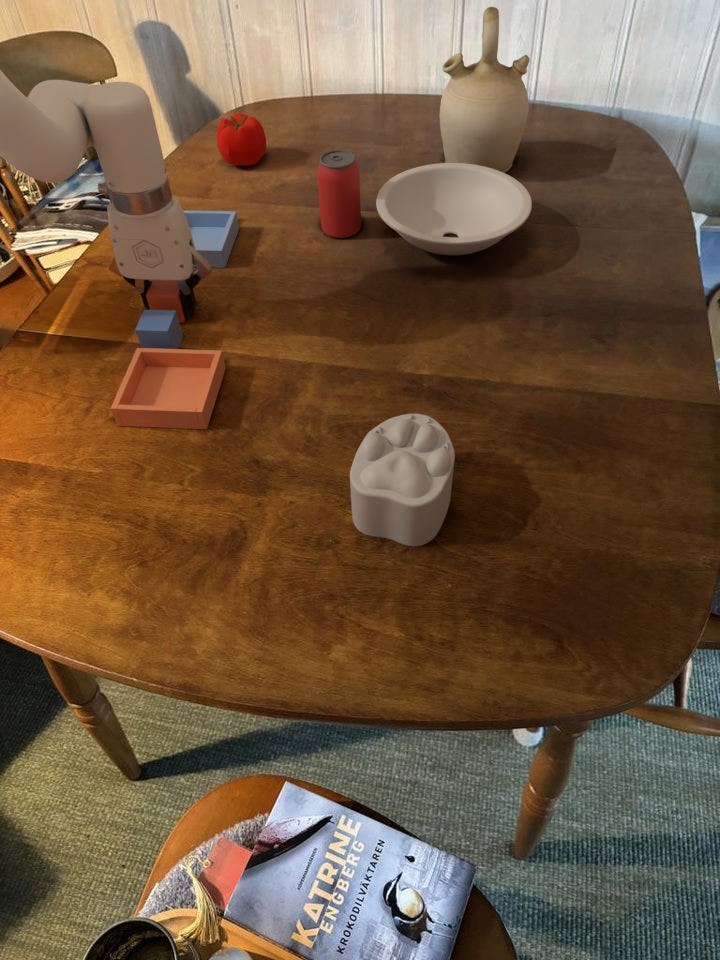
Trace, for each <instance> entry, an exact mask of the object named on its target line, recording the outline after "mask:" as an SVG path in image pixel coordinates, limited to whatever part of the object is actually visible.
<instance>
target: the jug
mask: <svg viewBox="0 0 720 960" xmlns="http://www.w3.org/2000/svg"><path fill="white" fill-rule="evenodd" d="M499 36H500V11H499V9H498V8H497V7H495V6H488V7H487V8H485V9H484V11H483V15H482V34H481V57H480V59H479V60H478V61H477V62H474V63H471V64H469V65H467V66H466V65H465V62H464V55H463V53H461V52H459V53H455V54H453V55H451V56H450V57H449V58H448V59H447V60H446V61H445V62H444V63H443V65H442V68H441V69H442V72H444V73H445V74H447V75H448V76H450V77H451V78H450V79H449V80H448V82H447V84H446V86H445V88H444V90H443V93H442V95H441V99H440V106H439V129H440V136H441V142H442V148H443V156H444V163H465V164H474V165H480V166H484V167H488V168H492V169H495V170H498V171H500V172H503V173H505V174H507V173H508V171H509V170H511V168H512V166H513V162H514V160H515V157H516V155H517V153H518V150H519V147H520V144H521V141H522V138H523V134H524V131H525V128H526V125H527V121H528V118H529V117H528V116H529V109H530V108H529V107H530V104H529V103H530V102H529V94H528V91H527V88H526V85H525V83H524V80H523V78H522V77H523V76H524V75H526V74H527V72H528V66H529V64H530V57H529V56H528V55H527V54H524V55H522V56H521V57H520V58H518V59H514V60H513V61H512V65H511V66H507V65H505V64H503V63H500V62H499V60H498V50H499V39H500V38H499Z"/></svg>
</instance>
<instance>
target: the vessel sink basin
mask: <svg viewBox="0 0 720 960" xmlns="http://www.w3.org/2000/svg"><path fill="white" fill-rule="evenodd" d="M375 207H376V210H377V213H378V215H379V217H380V218H381V220H382V221H383V222H384V223H385V224H386V225H387V226H388V227H390V228H391V229H393V230H394V231H395V232H396V233H397V234H398V235H399V236H400V237H402V239H404V240H405V241H406V242H407V243H409V244H410V245H412V246H415V247H416V248H418V249H420V250H422V251H425V252H428V253H432V254H435V255H442V256H461V255H462V256H463V255H470V254H474V253H478V252H480V251H484V250H486V249H489V248H490V247H492V246H494V245H496V244H498V243H499V242H500V241H501V240H503V239H504V238H505V237H506V236H508V235H510V234H511V233H513V232H515V231H517V230H518V229H520V227H522V226H523V225H524V224H525V222H526V221H527V220H528V218H529V217H530V215H531V213H532V208H533V202H532V197H531V194H530V192H529V191H528V190H527V188H526V186H524V185H523V184H522V183H521V182H520V181H518V179H516V178H514V177H513V176H511V175H509V174H507V173H503V172H500V171H498V170H495V169H492V168H488V167H484V166H480V165H474V164H465V163H446V162H441V163H440V162H439V163H432V164H431V163H430V164H426V165H425V164H424V165H420V166H417V167H413V168H409V169H407V170H404V171H402V172H400V173H398V174H396V175H394V176H393V177H391V178H389V179H388V180H387V181H386V182H385V183H384V184H382V186H381V187H380V189H379V190H378V193H377V196H376V200H375ZM448 234H454V235H456V236H457V237H455V236H454V237H451V236H445V235H448Z"/></svg>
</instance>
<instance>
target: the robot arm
mask: <svg viewBox="0 0 720 960" xmlns="http://www.w3.org/2000/svg"><path fill="white" fill-rule="evenodd" d="M90 147H93V148H94V149H95V151H96V155H97V158H98V161H99V165H100V167H101V171H102V175H103V178H104V181H103V182H98V183H97V190H98V191H97V192H98V193H99V194H100V195H105V196H107V197H108V199H109V203H108V205H107V207H106V209H107V210H106V211H107V222H108V230H109V236H110V241H111V247H112V250H113V255H114V256H113V258H112V261H111V262H110V264H109V266H108V270H109V271H111V272H112V273H113V274H115V275H117V276H118V277H122V279H123V280H124V281H126V282H127V283H128V284H130V285H131V286H133V288H134V290H135V291H136V293H139V294H140V296H141V300H142V304H143V306H144V309H146V310H150V308H149V304H148V301H147V297H146V294H147V292H148V290H149V288H150V285H151V283H152V281H153V280H176V282H177V284H178V285H179V287H180V289H181V293H180V301H181V305H182V309H183V313H184V316H185V317H186V318H185V319H190V318H191V315H192V314H193V310H196V307H197V300H196V296H195V291H194V288H195V287H196V286H198V284H199V283H200V281H202V280H204V279H205V278H207V277H208V276H210V275H211V273H212V271H213V268H212V266H211V265H210V264H209V263H208V262H207V261H206V260H205V259H204V258H203V257H202V256H201V255H200V254H199V253H198V252H197V251H196V248H195V244H194V241H193V237H192V234H191V231H190V227H189V224H188V222H187V219H186V216H185V214H184V212H183V210H184V209H183V207H182V205H181V203H180V201H179V199H178V197H177V196H175V195H173V194H172V189H171V185H170V181H169V176H168V172H167V168H166V163H165V159H164V153H163V150H162V146H161V141H160V136H159V133H158V128H157V125H156V120H155V115H154V111H153V107H152V103H151V100H150V97H149V94H148V93H147V92H146V90H145V89H144V88H143V87H142V86H140V85H138V84H136V83H133V82H129V81H111V82H110V81H109V82H106V83H101V84H93V83H86V82H85V83H84V82H79V81H73V80H65V79H48V80H43V81H41V82H39V83H37V84H36V85H35V86H34V87H33V88H32V89H31V90H30V92H29V94H28V95H27V96H26V95H24V93H22V92H21V90H19V89H18V87H16V86H15V84H14V83H12V81H11V80H10V79H9V78H8V77H7V76H6V75H5V73H4V72H3V71H2V69H0V158H2V159H3V160H5V162H7V163H8V164H10V165H11V166H12V167H14V168H15V169H16V170H17V171H19V172H21V173H22V174H24V175H26V176H28V177H29V178H32V179H34V180H37V181H39V182H43V183H47V184H48V183H50V184H55V183H62V182H64V181H66V180H68V179H69V178H71V177H72V176H73V175H74V174H75V173H76V172H77V171H78V169H79V166H80V164H81V162H82V159H83V157H84V154H85V152H86V150H88V149H89V148H90ZM193 265H194V266H195V267H193ZM194 268H196V269H195V270H193V269H194Z"/></svg>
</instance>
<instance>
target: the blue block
mask: <svg viewBox="0 0 720 960" xmlns="http://www.w3.org/2000/svg"><path fill="white" fill-rule="evenodd" d="M180 323H181V322H179V320H178V316H177V313H176V310H147V309H144V310H143V312H142V314H141V316H140V318H139V321H138V323H137V325H136V327H135V329H134V331H135V334H136V337H137V340H138V343H139V346H140V348H158V349H180V345H181V342H182V340H183V337H184V334H183V331H182V327H181V324H180Z"/></svg>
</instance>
